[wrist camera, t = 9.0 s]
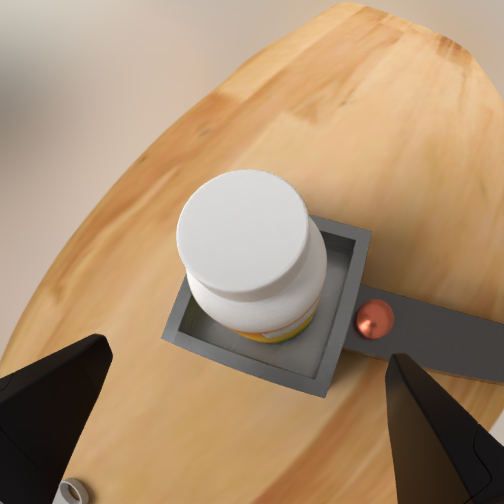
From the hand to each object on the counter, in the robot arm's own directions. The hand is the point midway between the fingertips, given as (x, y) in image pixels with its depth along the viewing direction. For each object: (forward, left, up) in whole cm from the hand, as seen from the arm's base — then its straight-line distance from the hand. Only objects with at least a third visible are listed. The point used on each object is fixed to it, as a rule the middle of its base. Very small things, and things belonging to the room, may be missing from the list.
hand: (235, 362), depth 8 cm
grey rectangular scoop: (-5, -4, -9) cm, 11 cm away
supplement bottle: (+1, -4, -9) cm, 10 cm away
